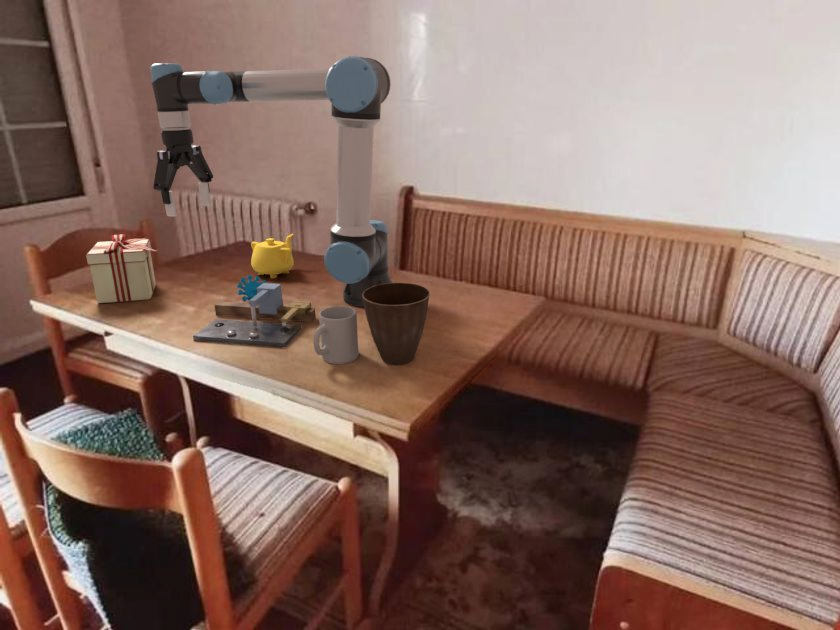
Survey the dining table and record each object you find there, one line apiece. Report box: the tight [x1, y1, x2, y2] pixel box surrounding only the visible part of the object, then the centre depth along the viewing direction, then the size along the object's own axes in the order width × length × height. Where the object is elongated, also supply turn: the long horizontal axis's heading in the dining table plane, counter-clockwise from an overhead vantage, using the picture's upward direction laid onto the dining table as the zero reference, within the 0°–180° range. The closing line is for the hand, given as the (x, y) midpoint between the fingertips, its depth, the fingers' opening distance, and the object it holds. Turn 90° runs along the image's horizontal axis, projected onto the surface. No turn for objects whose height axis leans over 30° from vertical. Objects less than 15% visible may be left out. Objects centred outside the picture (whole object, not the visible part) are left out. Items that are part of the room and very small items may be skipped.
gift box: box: [85, 233, 159, 304], centre depth 174 cm, size 17×18×17 cm
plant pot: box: [362, 282, 430, 366], centre depth 132 cm, size 15×15×16 cm
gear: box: [236, 275, 268, 303], centre depth 169 cm, size 11×6×10 cm
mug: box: [312, 305, 360, 365], centre depth 133 cm, size 12×8×11 cm
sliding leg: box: [248, 282, 284, 327], centre depth 152 cm, size 5×13×7 cm, turn 169°
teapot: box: [250, 233, 295, 279], centre depth 192 cm, size 14×14×12 cm
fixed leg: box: [280, 300, 312, 329], centre depth 152 cm, size 5×13×3 cm, turn 169°
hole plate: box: [192, 318, 303, 349], centre depth 147 cm, size 24×11×2 cm, turn 79°
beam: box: [214, 301, 317, 323], centre depth 158 cm, size 28×2×3 cm, turn 79°
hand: (189, 211), depth 158 cm, fingers open, 13 cm apart
